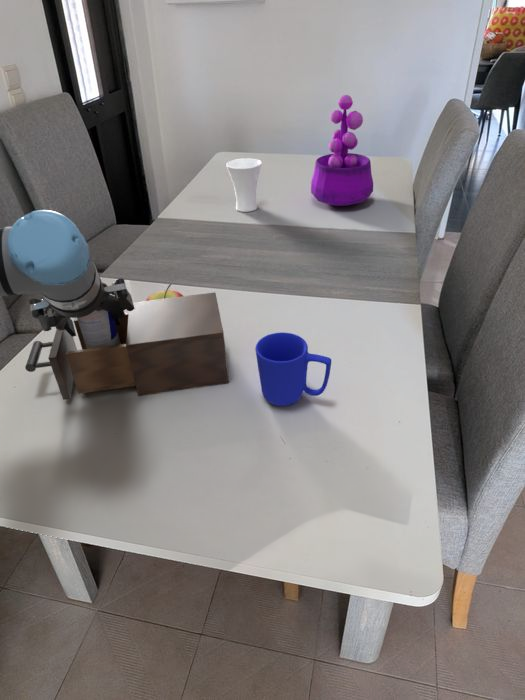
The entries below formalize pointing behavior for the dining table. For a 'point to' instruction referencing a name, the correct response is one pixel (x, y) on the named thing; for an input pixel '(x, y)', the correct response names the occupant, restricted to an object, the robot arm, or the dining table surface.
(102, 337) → the beverage can
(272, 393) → the mug
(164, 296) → the apple
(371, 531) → the dining table surface
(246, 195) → the cup
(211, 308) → the cabinet
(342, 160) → the decorative plant
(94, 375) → the drawer
